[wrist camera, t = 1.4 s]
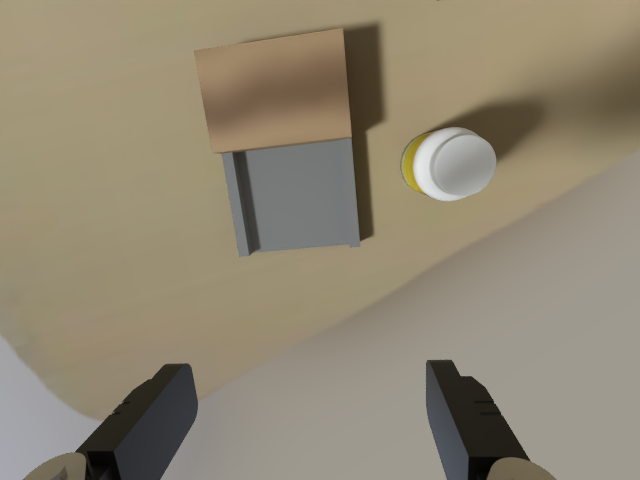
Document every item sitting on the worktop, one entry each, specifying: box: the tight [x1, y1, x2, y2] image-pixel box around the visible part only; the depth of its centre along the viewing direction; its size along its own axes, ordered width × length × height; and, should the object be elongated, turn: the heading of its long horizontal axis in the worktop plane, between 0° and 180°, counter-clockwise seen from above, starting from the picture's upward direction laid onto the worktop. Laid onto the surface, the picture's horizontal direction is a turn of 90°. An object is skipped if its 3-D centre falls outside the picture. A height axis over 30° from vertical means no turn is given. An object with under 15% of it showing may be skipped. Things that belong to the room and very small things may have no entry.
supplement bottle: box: [400, 127, 496, 201], centre depth 26 cm, size 5×5×10 cm
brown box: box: [194, 28, 352, 153], centre depth 28 cm, size 8×12×4 cm, turn 96°
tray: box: [222, 138, 360, 257], centre depth 31 cm, size 10×12×2 cm
